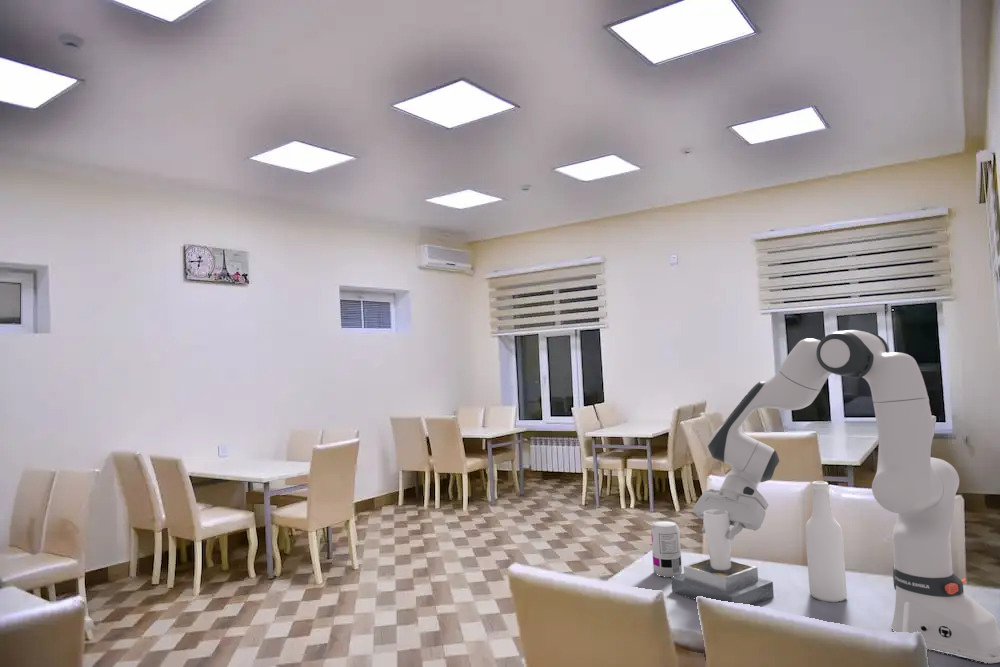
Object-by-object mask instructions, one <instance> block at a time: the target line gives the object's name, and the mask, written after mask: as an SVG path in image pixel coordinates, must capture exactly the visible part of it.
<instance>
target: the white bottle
mask: <svg viewBox="0 0 1000 667" xmlns="http://www.w3.org/2000/svg"><path fill="white" fill-rule="evenodd" d="M811 485H812V486H811V489H812V514H811V517H809V519H808V520H807V522H806V524H805V528H804V529H805V530H804V532H805V544H806V545H805V546H806V557H807V573H808V576H807V577H808V586H809V593H810V595H811V596H812V597H813V598H814V599H816V600H818V601H821V602H826V603H827V602H829V603H840V602H843V601H845V599H846V598H847V596H848V594H847V593H848V592H847V579H846V567H845V566H846V565H845V553H844V540H843V529H842V526H841V525H840V523H839V522H838V521H837V520H836V518H834V516H833V512H832V506H831V498H830V493H829V489H830V487H829V482H828V481H824V480H816V481H812V482H811ZM839 601H840V602H839Z"/></svg>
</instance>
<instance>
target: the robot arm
mask: <svg viewBox="0 0 1000 667" xmlns="http://www.w3.org/2000/svg"><path fill="white" fill-rule="evenodd" d="M831 374H833V375H837V376H841V377H847V378H853V379H862V378H863V379H864V380H865V381H866V382H867V383H868V385H869V388H870V392H871V398H872V404H873V409H874V416H875V420H876V427H877V433H878V434H877V436H878V453H877V467H876V473H875V475H874V478H873V480H872V483H871V491H872V495H873V497H874V500H876V503H877V504H878V505H879V506H880V507H882V508H883V509H884V510H886V511H888V512H890V513H894V514H897V519H896V522H895V525H894V528H893V531H892V536H891V537H892V547H893V550H892V551H893V559H894V562H893V563H894V565H893V566H892V580H893V587H894V588H893V589H894V590H895V603H894V613H893V616H892V617H893V618H892V623H891V626H890V628H891V627H892V628H893V629H894V631H896V632H909V633H913V632H917V631H918V632H921V634H922V635H923V637H924V639H925V643H926V646H927V649H926V650H928V649H929V650H928V651H931V650H932V649H935V650H940V651H943V652H949V653H953V654H958V655H962V656H966V657H969V658H973V659H975V660H977V661H981V662H984V663H983V664H987V663H988V664H997V663H1000V627H999V624H998V622H997V619H996V617H995V616H994V614H992V613H991V612H989V611H988V609H986V608H984V607H983V606H982V605H980V604H979V603H978V602H977V601H975V600H974V599H973V598H972V597H970V596H969V595H968V594H967V593H965V591H964V585H965V584H967V582H966V580H967V579H966V577H965V578H962V579H960V578H959V577H958V576H957V575H956V574H955V572H953V560H952V546H951V535H952V534H951V533H952V524H953V516H954V508H955V498H956V494H957V491H958V490H959V486H960V477H959V474H958V471H957V470H956V468H955V467H954V466H953V465H952V464H951V463H950V462H947V461H946V460H944V459H942V458H939V457H937V458H936V457H932V444H933V438H934V437H935V426H934V422H933V421H934V420H933V415H932V411H931V405H930V402H929V395H928V391H927V387H926V384H925V380H924V377H923V374H922V372H921V370H920V367H919V365H918V363H917V361H916V359H915V358H914V357H913V356H911V355H909V354H908V353H904V352H897V351H894V352H893V351H891V352H890V348H889V345H888V343H887V342H886V340H885V339H884V338H883V337H881V335H878V334H877V333H875V332H871V331H862V330H857V329H848V330H838V331H833V332H831V333H828V334H827V335H825V336H824V337H822V339H821V340H820V339H816V338H813V337H812V338H808V337H807V338H803V339H801V340H800V341H798V342H797V343H796V344H795V346H794V347H793V348H792V350H791V351H790V352H789V353H788V354H787V356H786V357H785V359H784V361H783V362H782V364H781V366H780V368H779V369H778V371H777V372H776V374H775V375H774V376H773V377H771V378H770V379H768V380H764V381H763V380H761V381H758V382H757V383H756V384H755V385H754V386H752V388H751V389H750V390H749V391H748V392H747V393H746V395H745V396H744V397H743V398H742V399H741V401H740V402H739V403H738V405H737V406H736V407H735V408H734V410H733V411H732V412H731V413H730V414H729V416H728V417H727V418H726V419H725V421H724V422H723V423H722V424H721V425H720V426H719V427H718V428H717V429H716V430H715V431H713V433H712V434H711V436H710V437H709V440H708V444H707V448H708V452H709V453H710V456H711V457H712V459H715V460H717V461H719V462H722V463H725V464H727V465H729V466H731V468H730V472H729V473H728V474H727V475H726V477H725V478H724V481H723V483H722V484H721V487H720V489H714V488H713V489H712V488H709V489H707V490H705V491H704V492H703V493H702V494H701V495H700V497H699V498H698V500H697V501H696V503H695V504H694V506H693V507H692V508H693V509H692V510H693V513H694V514H695V515H696V517H697V518H698V519H701V520H702V523H703V526H702V528H701V532H702V533H703V534H705V528H704V516H703V513H704V512H705V511H708V510H719V511H717V512H715V513H714V514H713V515H722V514H726V512H725V511H727V512H728V513H729V520H730V526H733V527H732V528H730V531H727V533H726V534H725V537H726V538H727V539H730V541H733V540H734V538H735V536H737V535H738V534H739V533H741V532H742V530H743V529H746V530H751V531H757V530H759V529H760V528H762V525H763V522H764V520H765V517H766V510H768V508H769V503H768V502H767V500H766V498H765V497H764V496H763V495H762V494H761V492H759V490H758V486H759V484H760V483H765V482H767V481H770V480H771V479H772V477H773V476H774V472H775V470H776V467H777V466H778V465H779V462H780V458H779V454H778V453H777V451H776V449H774V448H773V447H771V446H769V445H767V444H766V443H764V442H763V441H759V440H757V439H756V438H753V437H751V436H750V435H748V434H745V433H743V432H742V431H740V428H741V426H743V424H744V423H745V422H746V420H747V419H748V418H749V417H750V415H752V413H753V412H754V411H756V410H759V409H776V410H783V411H784V410H785V411H797V410H802V409H804V408H805V409H806V407H808V406H810V405H811V404H812V403H813V402H814V401H815V400H816V398H817V397H818V395H819V394H820V392H821V391H822V388H823V386H824V384H826V381H827V380H828V378H829V377H830V376H831ZM930 649H931V650H930ZM977 661H976V662H977ZM981 662H980V663H981Z"/></svg>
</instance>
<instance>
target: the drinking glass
mask: <svg viewBox="0 0 1000 667" xmlns="http://www.w3.org/2000/svg"><path fill="white" fill-rule="evenodd" d="M717 511H719V510H708V511H705V512H704V513H703V516H704V524H703V526H704V528H705V533H704V534H705V538H706V542H707V543H706V544H707V550H708V554H709V558H710V564H711V567H712V568H713V569H715V570H728V569H730V568H731V560H732V559H731V558H732V557H731V555H732V553H731V550H732V549H731V540H730V539H727V538H726V537H725V534H726V533H727V531H730V530H731V525H730V520H729V513H728V512H727V511H725V512H726V514H722V515H713V514H714V513H715V512H717Z"/></svg>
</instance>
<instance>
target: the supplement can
mask: <svg viewBox="0 0 1000 667" xmlns="http://www.w3.org/2000/svg"><path fill="white" fill-rule="evenodd" d="M650 532H651V547H652V548H651V549H652V550H651V552H652V564H653V565H652V566H653V573H654V574H655V575H656V574H658V575H660V576H665V577H664V578H666V577H673V576H677V575H680V574H683V573H682V572H683V570H682V569H683V568H682V552H681V539H680V538H681V537H680V536H681V535H680V528H679V526H678V524H677V522H675V521H672V520H657V521H654V522H653V523H652V526H651V528H650ZM658 575H657V576H658ZM660 576H659V577H660Z"/></svg>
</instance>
